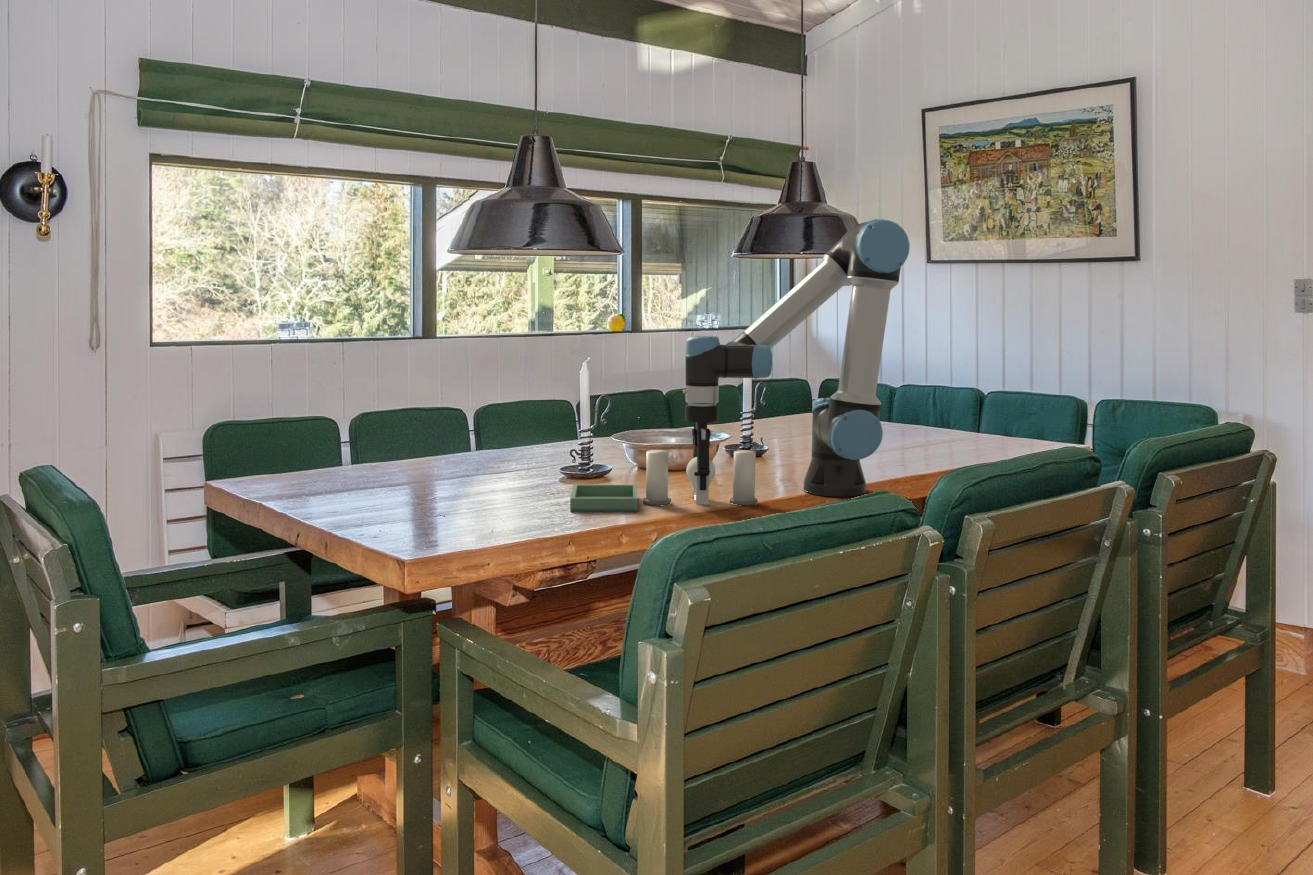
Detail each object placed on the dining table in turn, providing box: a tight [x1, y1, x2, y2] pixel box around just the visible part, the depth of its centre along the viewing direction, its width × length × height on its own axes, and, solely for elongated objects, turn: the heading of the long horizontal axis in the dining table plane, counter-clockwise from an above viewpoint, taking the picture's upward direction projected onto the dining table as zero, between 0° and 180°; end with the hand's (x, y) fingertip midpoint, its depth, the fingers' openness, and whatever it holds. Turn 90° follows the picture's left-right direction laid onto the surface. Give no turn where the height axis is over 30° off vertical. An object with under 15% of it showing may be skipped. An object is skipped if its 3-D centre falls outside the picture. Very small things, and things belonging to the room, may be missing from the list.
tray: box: [569, 484, 639, 513], centre depth 246 cm, size 15×17×3 cm
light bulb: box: [686, 457, 716, 502], centre depth 247 cm, size 7×7×11 cm
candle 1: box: [642, 449, 672, 507], centre depth 247 cm, size 6×6×12 cm
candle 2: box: [729, 449, 759, 507], centre depth 248 cm, size 6×6×12 cm
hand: (700, 498), depth 248 cm, fingers open, 11 cm apart
